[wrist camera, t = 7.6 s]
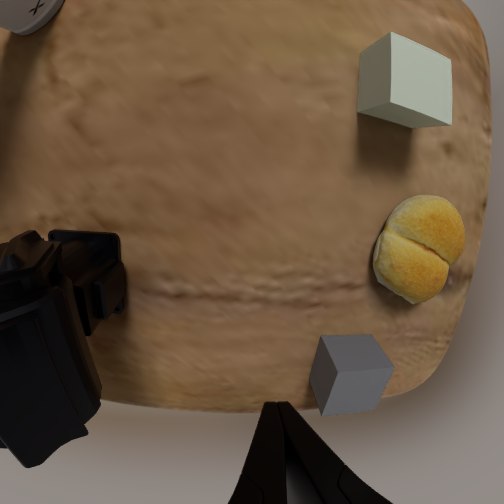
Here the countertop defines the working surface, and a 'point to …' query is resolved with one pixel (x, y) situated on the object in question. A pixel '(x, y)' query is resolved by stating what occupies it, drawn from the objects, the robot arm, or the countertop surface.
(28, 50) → the countertop surface
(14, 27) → the travel mug
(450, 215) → the bread roll
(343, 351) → the charcoal block
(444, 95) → the sage block
